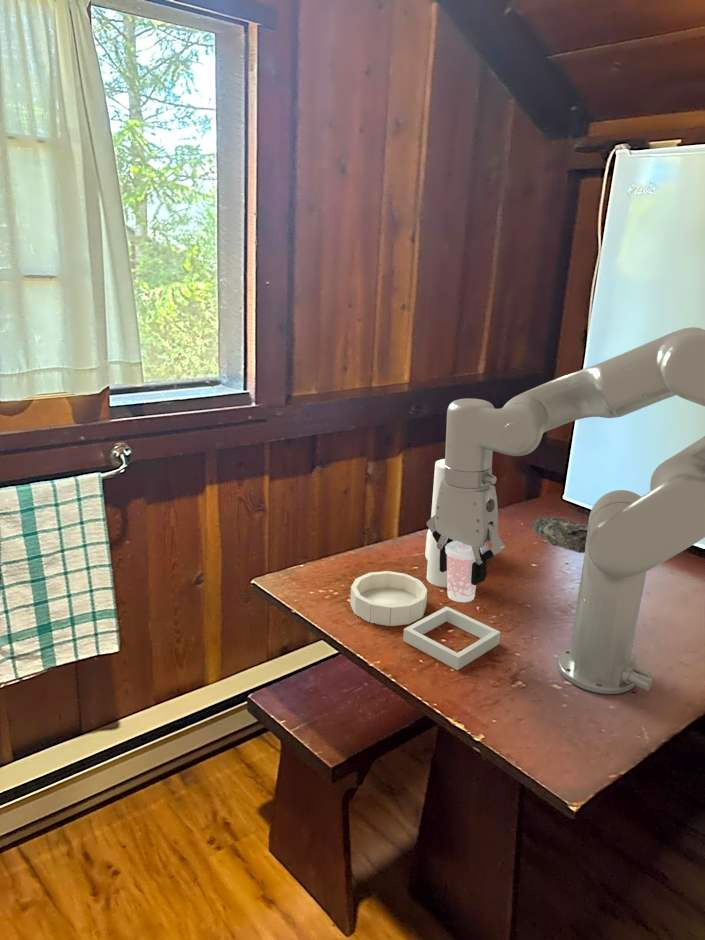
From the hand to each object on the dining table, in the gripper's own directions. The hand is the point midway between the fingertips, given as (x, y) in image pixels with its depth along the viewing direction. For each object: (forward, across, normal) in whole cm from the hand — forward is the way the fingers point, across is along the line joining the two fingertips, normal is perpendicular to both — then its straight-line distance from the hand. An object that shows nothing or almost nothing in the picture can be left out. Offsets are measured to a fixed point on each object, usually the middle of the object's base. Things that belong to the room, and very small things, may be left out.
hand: (462, 574), depth 128 cm
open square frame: (+13, +1, +1) cm, 13 cm away
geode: (+15, +12, -57) cm, 60 cm away
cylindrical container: (+13, +17, -17) cm, 28 cm away
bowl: (+13, +17, 0) cm, 21 cm away
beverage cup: (+4, 0, 0) cm, 4 cm away
